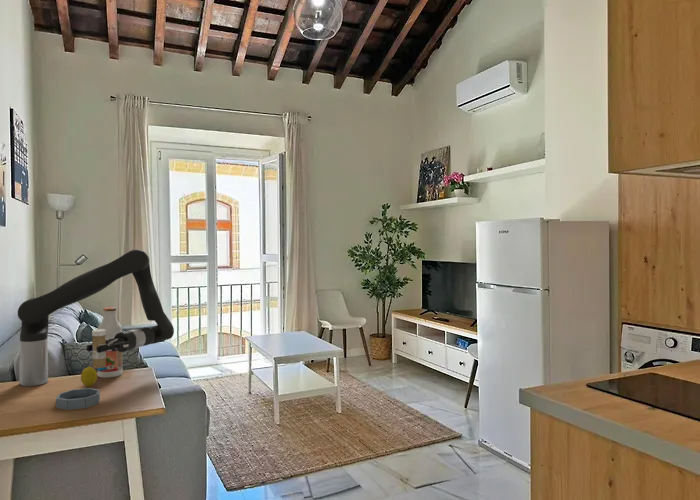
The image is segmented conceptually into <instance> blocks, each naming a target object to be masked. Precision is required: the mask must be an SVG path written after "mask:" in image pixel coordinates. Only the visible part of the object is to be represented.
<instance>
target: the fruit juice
mask: <svg viewBox="0 0 700 500" xmlns="http://www.w3.org/2000/svg"><path fill="white" fill-rule="evenodd" d="M102 311H103V318H102V320H101V322H100V323H99V325H98V327H97V329H105V330H106V336H105V340H107V339H109V338H114V337H115V335H116V334H117V333H120V332H123V331H122V330H123V327H122V325H121V323H120V322H119V321H118V318H117V313H116V312H117V307H113V306H111V307H103V309H102ZM123 369H124V368H123V352H119V351H106V366H105V367H102V368H97V377H100V378H108V379H109V378H116V377H120V376H122V375H123Z"/></svg>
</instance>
